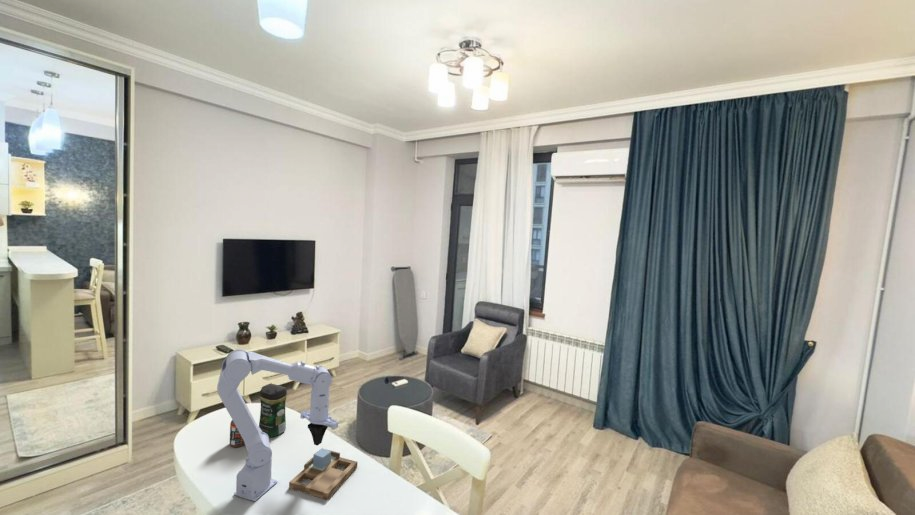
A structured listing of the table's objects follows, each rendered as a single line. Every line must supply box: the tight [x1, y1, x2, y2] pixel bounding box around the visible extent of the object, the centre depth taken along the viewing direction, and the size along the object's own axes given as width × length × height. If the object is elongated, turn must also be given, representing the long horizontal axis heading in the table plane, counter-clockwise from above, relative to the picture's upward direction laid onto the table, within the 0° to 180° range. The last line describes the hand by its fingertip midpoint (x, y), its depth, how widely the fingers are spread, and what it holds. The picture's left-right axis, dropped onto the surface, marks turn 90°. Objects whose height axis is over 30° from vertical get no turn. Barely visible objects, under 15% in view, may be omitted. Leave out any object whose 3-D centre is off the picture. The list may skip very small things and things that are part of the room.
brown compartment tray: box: [288, 449, 359, 501], centre depth 126 cm, size 17×14×4 cm
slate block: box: [312, 447, 332, 469], centre depth 129 cm, size 4×4×4 cm
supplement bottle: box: [229, 419, 245, 448], centre depth 141 cm, size 6×6×11 cm
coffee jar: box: [258, 382, 288, 438], centre depth 150 cm, size 10×8×19 cm
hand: (317, 443), depth 128 cm, fingers closed
